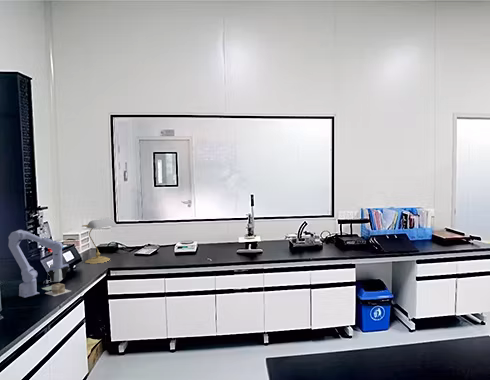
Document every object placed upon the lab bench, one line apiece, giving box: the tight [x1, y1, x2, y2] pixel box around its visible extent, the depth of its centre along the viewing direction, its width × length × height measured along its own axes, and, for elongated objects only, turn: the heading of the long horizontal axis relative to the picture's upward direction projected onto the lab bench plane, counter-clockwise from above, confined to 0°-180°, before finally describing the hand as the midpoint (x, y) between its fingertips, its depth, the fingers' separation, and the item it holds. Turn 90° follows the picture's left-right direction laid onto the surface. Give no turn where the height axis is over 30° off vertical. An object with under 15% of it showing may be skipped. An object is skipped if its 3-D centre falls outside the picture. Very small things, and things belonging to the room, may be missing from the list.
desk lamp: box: [82, 217, 117, 265], centre depth 318 cm, size 31×23×40 cm
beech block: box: [51, 282, 66, 294], centre depth 230 cm, size 5×7×5 cm
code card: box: [44, 288, 72, 297], centre depth 230 cm, size 12×12×1 cm
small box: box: [49, 263, 63, 283], centre depth 256 cm, size 8×6×13 cm
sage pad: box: [41, 285, 52, 292], centre depth 239 cm, size 8×8×1 cm
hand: (58, 279), depth 230 cm, fingers open, 7 cm apart
